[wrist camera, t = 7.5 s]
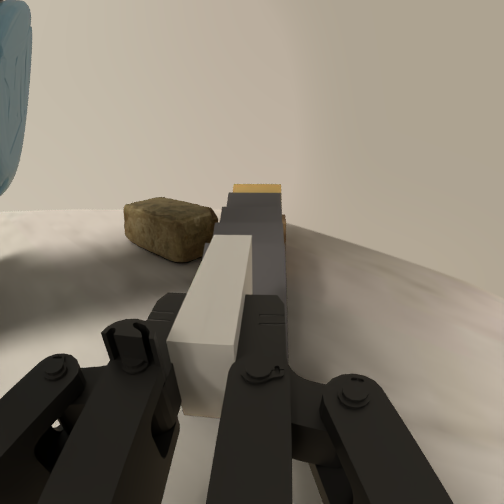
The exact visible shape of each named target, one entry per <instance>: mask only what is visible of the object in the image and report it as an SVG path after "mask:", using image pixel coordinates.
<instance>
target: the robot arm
mask: <svg viewBox="0 0 504 504" xmlns="http://www.w3.org/2000/svg"><path fill="white" fill-rule="evenodd" d="M30 24H31V13H30V9H29V6H28V5H27V4H26V3H25V2H24V1H20V0H5V1H3V0H0V196H1V195H2V194H3V193H4V192H5V191H6V190H7V188H8V187H9V185H10V184H11V182H12V180H13V178H14V176H15V174H16V171H17V167H18V164H19V161H20V155H21V151H22V145H23V139H24V132H25V124H26V115H27V106H28V95H29V83H30V70H31V69H30V68H31V54H32V27H31V26H30ZM101 335H102V338H103V341H104V344H105V346H106V349H107V352H108V355H109V358H110V361H109V363H108V365H106V366H100V367H88V368H80V366H79V364H78V361H77V359H75V358H74V357H73V356H72V355H68V354H55V355H52V356H49V357H47V358H45V359H44V360H42V361H41V362H39V363H38V364H37V365H36V366H35V367H34V368H33V369H32V370H31V371H30V372H29V373H27V374H26V375H25V376H24V377H23V378H22V379H21V380H20V381H19V382H18V383H17V384H16V385H15V386H13V387H12V388H11V389H10V390H9V391H8V392H7V393H6V394H5V395H4V396H3V397H2V398H1V399H0V504H161V502H162V498H163V494H164V490H165V486H166V482H167V478H168V474H169V470H170V466H171V462H172V458H173V454H174V450H175V447H176V443H177V439H178V435H179V431H180V424H179V420H178V417H177V416H178V413H179V409H180V406H182V409H183V413H184V415H190V416H199V417H210V418H220V423H219V429H218V435H217V441H216V447H215V453H214V458H213V464H212V470H211V476H210V482H209V488H208V494H207V500H206V504H292V459H296V460H300V461H304V462H308V463H309V465H310V468H311V471H312V474H313V476H314V479H315V482H316V484H317V487H318V490H319V493H320V495H321V498H322V501H323V503H324V504H453V502H452V500H451V498H450V497H449V495H448V493H447V492H446V490H445V488H444V487H443V485H442V483H441V482H440V480H439V478H438V477H437V475H436V473H435V472H434V470H433V469H432V467H431V465H430V464H429V462H428V460H427V459H426V457H425V455H424V454H423V452H422V451H421V449H420V447H419V446H418V444H417V443H416V441H415V439H414V438H413V436H412V435H411V433H410V431H409V430H408V428H407V427H406V425H405V424H404V422H403V420H402V419H401V417H400V416H399V414H398V413H397V411H396V409H395V408H394V406H393V405H392V403H391V402H390V400H389V399H388V397H387V396H386V394H385V392H384V391H383V389H382V388H381V387H380V386H379V385H378V384H377V383H376V382H375V381H374V380H372V379H370V378H368V377H366V376H363V375H358V374H344V375H340V376H338V377H335V378H333V379H332V380H331V381H330V382H328V383H327V384H326V385H325V384H320V383H316V382H312V381H309V380H306V379H303V378H301V377H300V376H298V375H296V374H295V373H294V372H293V371H292V370H291V368H290V367H289V365H288V362H287V351H286V328H285V308H284V303H283V302H282V301H281V299H280V298H279V297H278V295H252V235H214V236H213V238H212V240H211V243H210V245H209V247H208V249H207V251H206V253H205V255H204V258H203V260H202V262H201V264H200V266H199V268H198V271H197V273H196V275H195V277H194V279H193V281H192V284H191V286H190V288H189V290H188V293H187V294H186V293H167V294H166V295H164V296H163V297H162V298H161V299H159V300H158V301H157V303H156V304H155V306H154V308H153V310H152V312H151V313H150V315H149V317H148V320H146V321H143V320H139V319H125V320H121V321H118V322H115V323H113V324H111V325H109V326H107V327H106V328H105V329H104V330H103V331H102V332H101ZM56 420H58V421H59V423H60V425H59V426H58V427H56V428H53V427H52V426H51V425H52V424H53V423H54V422H55V421H56Z"/></svg>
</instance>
